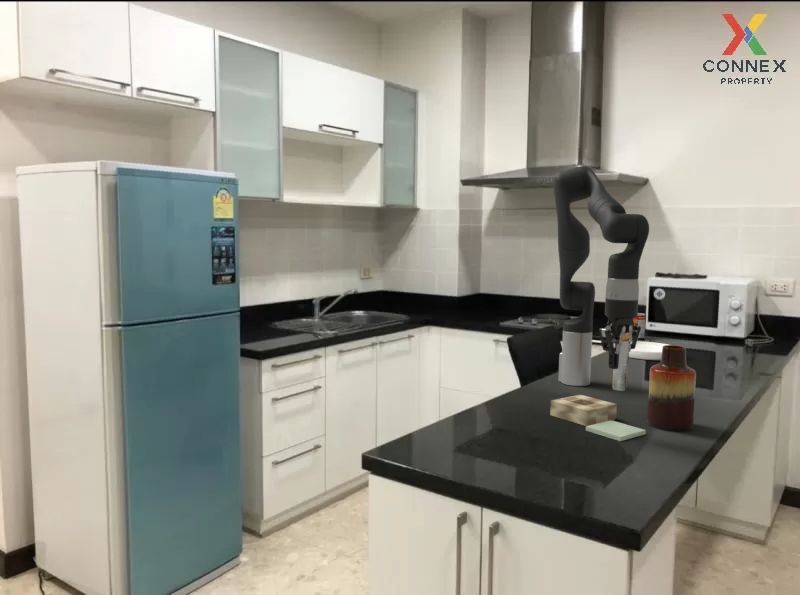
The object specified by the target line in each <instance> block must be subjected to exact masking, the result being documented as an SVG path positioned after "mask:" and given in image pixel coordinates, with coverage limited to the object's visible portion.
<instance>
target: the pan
mask: <svg viewBox="0 0 800 595" xmlns="http://www.w3.org/2000/svg"><path fill="white" fill-rule="evenodd" d="M592 343H599V344H602V343H601V340H598V339H597V340H595V339H592ZM630 344H632V342H631V343H630ZM665 345H669V344H667V343H661V342H660V343H659V342H653V341H641V340H637V343H636V347H635V349H631V351H630V352H629V358H630V359H636V360H645V361H661V356H662V348H663V346H665ZM614 346H615V344H614Z"/></svg>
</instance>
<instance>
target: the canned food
mask: <svg viewBox="0 0 800 595" xmlns="http://www.w3.org/2000/svg"><path fill="white" fill-rule="evenodd" d="M646 317H647V316H646V314H645V313H641V312H638V316H637V317H636V318H633V321H634V325H637V326H640V327H641V330H640V333H639V336H638V338H644V339H645V335H646V334H645V333H646V332H645V331H646V330H645V329H646Z"/></svg>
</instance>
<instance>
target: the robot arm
mask: <svg viewBox="0 0 800 595" xmlns="http://www.w3.org/2000/svg"><path fill="white" fill-rule="evenodd" d="M552 185H553V195H554V201H555V208H556V219H557V246H558V247H557V248H558V259H559V260H558V261H559V270H560V271H559V303H560V306H561V307H562V309H565V310H567V311H568V310H571V311H572V310H573V311H582V314H581V315H579V316H577V317H575V318H571V319H567V320H564V322H563V325H562V344H561V345H562V348H561V349H562V350H561V352H559V357H558V379H557V380H558V382H560V383H561V384H563V385H568V386H573V387H575V386H576V387H584V386H589V385H591V372H592V371H591V369H592V352H593V350H592V348H593V345H592V344H593V342H592V340H593V326H594V325H593V321H594V309H595V308H594V307H595V298H596V288H595V287H596V286H595V283H594V282H590V281H572V279H573V277H574V275H575V274H576V273H577V271H578V270H579V269H580V268H581V267H582V266H583V265H584V263H585V262H586V261H587V259H588V258H589V256H590V253H591V252H590V251H591V244H590V243H591V239H590V238H591V237H590V232H589V230H588V229H587V227H586V226H585V225H584V224H583V223H582V222H581V221H580V220H579V219H578V218H576V217H575V215H574V214H573V212H572V211H571V207H570V206H571V204H572V203H574V202H579V201H582V200H586V199H588V198H589V199H588V201H587V210H588V214H589V215H590V217H591V218H592V219H593V220H594V221H595V222H596V223H597V225H599V227H600V231H601V234H602V237H603V239H604V240H605V241H607V242H609V243H612V244H627V245H626V247H625V249H624V250H623V251H621V252H618V253H614V254H610V256H609V257H608V263H607V264H608V265H607V279H606V280H607V281H606V284H605V285H606V286H605V302H604V315H605V316H606V317H607V323H606V326H605V327H604V328H601V327H600V328H599V329H598V335H599V337H600V338H599V339H600V341H601V343H600V344H601V347H602V350H603V351H604V352H607V353H608V368H609V369H612V370H613V369H618V363H619V354H618V353H619V349H620V345H621V344H622V342H623V341H622V340H623V333H625V332H628V333H630V336H629V346H628V359H629V358H630V357H629V352H630V351H631V349H635V347H636V343H637V341H639V340H638V336H639V333H640V330H641V327H640V326H637V325H634V321H633V318H636V317H637V316H638V313H639V312H638V311H639V309H638V308H639V294H640V286H639V285H640V284H639V277H640V276H639V274H640V273H639V272H640V262H641V258H642V255H643V252H644V249H645V245H646V243H647V240H648V237H649V234H650V224H649V221H648V219H647V217H646V216H644V215H643V214H639V213H627V211H626V209H625V208H624V206H623V205H622V204H621V203H619V201H617V200H616V199H615V198H614V197H613V196H611V195H610V193H609V192H608V191H607V189H606V187H605V186H604V184H603V183H602V182H601V180H600V179H599V178H598V176H597V175H596V173H595V172H594V171H593V169H592V168H590V167H589V166H587V165H579V166H575V167H572V168H569V169H565V170H562V171H559V172H557V173H555V175H554V177H553V182H552ZM615 339H618V340H617V341H615ZM632 339H633V340H632ZM631 342H632V344H630V343H631ZM614 344H615V348H614ZM628 366H629V364H628V365H627V368H628Z"/></svg>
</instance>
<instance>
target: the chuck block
mask: <svg viewBox="0 0 800 595" xmlns="http://www.w3.org/2000/svg"><path fill="white" fill-rule="evenodd" d="M617 406H618V403H614V402H610V401H606V400H602V399H599V398H594V397H592V396H587V395H583V394H576V395H571V396H567V397H566V396H565V397H561V398H556V399H551V400H550V411H549V412H550V413H549V415H550V416H552V417H555V418H558V419H561V420H564V421H569V422H571V423H575V424H579V425H581V426H585V427H586V426H589V425H593V424H597V423H601V422H605V421H609V420H612V421H615V420H617V409H618V407H617Z"/></svg>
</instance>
